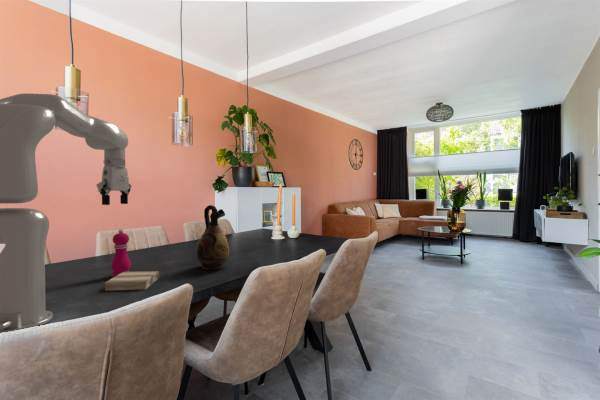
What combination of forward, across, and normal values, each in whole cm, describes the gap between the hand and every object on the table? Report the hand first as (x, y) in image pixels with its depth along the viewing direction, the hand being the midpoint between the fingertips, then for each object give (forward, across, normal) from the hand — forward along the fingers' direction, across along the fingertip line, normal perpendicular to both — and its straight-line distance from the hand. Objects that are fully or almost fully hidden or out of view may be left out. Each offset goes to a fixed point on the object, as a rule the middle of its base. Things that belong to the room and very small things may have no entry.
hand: (115, 204), depth 123 cm
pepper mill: (+31, 0, -2) cm, 31 cm away
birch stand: (+31, -8, -15) cm, 35 cm away
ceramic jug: (+31, +22, -33) cm, 50 cm away
